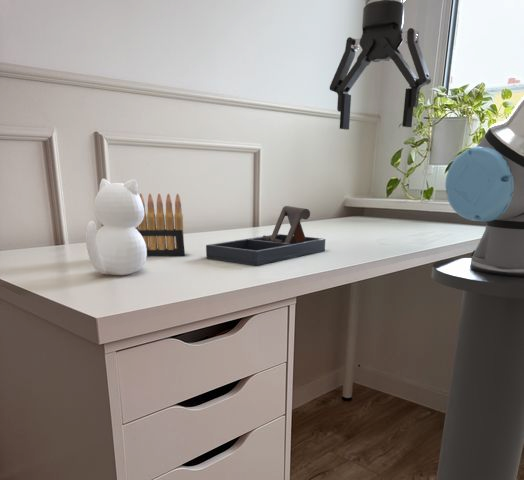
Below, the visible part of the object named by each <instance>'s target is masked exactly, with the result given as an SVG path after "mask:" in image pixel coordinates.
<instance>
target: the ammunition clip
mask: <svg viewBox="0 0 524 480" xmlns="http://www.w3.org/2000/svg"><path fill="white" fill-rule="evenodd" d="M139 196H140V198H141V200H142V203H143V207H144V218H143V221H142V222H141V224H140V225H139V226H138V227H136V228H135V229H137V230H138V232H139V233H140V234H141V235H142V237H143V239H144V241H145V244H146V249H147V257H184V256H186V253H185V252H186V250H185V241H184V240H185V239H184V215H183V212H182V201H181V197H180V194H179V193H176V196H175V200H174V213H173V203H172V198H171V195H170V193H167V194H166V199H165V214H164V203H163V198H162V196H161V194H160V193H158V194H157V197H156V213H155V205H154V199H153V197H152V194H151V193H148V195H147V213H146V205H145V199H144V195H143V194H142V193H139Z"/></svg>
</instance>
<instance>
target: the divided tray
mask: <svg viewBox="0 0 524 480" xmlns="http://www.w3.org/2000/svg"><path fill="white" fill-rule="evenodd" d="M287 235H288V234H284V233H283V234H282V233H278V234H277V237H276V239H279V240H282V241H283V243H278V242H270V241H263V236H264V235H263V236H256V237H249V238H243V239H236V240H230V241H223V242H216V243H210V244H206V245H205V253H206V254H205V255H206V256H205V257H206V259H210V260H215V261H223V262H228V263H235V264H236V263H237V264H242V265H250V266H256V267H257V266H261V265H266V264H271V263H275V262H279V261H284V260H289V259H294V258H298V257H303V256H308V255H312V254H316V253H320V252H325V251H326V238H324V237H323V238H322V237H312V236H305V238H306V242H301V241H300V243H296V241H295V238H294V235H293V237H292V240H291V242H290V244H287V243H284V242H285V240H286V237H287ZM267 236H268V237H271V236H272V234H269V235H267Z"/></svg>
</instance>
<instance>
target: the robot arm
mask: <svg viewBox="0 0 524 480" xmlns="http://www.w3.org/2000/svg"><path fill="white" fill-rule="evenodd" d="M405 1H406V0H363V3H364V4H365V6H364V7H363V9H362V25H361V26H362V27H361V28H362V34H361V37H360V38H354V37H351V36H349V37H347V38H346V41H345V49H344V52H343V55H342V57H341V59H340V61H339V64H338V67H337V68H336V71H335V72H334V76H333V78H332V80H331V82H330V84H329V91H330V92H334V93H335V94H337V106H336V109H337V112H338V113H339V112H340V115H339V130H347V131H349V130H350V121H351V106H352V94H350V93H349V92H350V91H351V89H352V88H353V86H354V85H355V84H356V82H357V80H358V79H359V78H360V76H361V75H362V73H363V72H364V71H365V70H366V68H367V67H368V66H369V65H370V64H371V63H379V62H381V61H383V62H390V60H392V61H393V62H394V65H395V66H396V67H397V69H398V70H399V72H400V73H401V75H402V76H403V78H404V79H405V81H406V82H407V84H408V85H409V86H408V87H409V88H405V93H404V103H403V112H402V114H403V115H402V126H401V127H403V128H412V127H413V126H412V125H413V115H414V109H416V108H418V106H419V102H420V101H419V100H420V92H421V89H422V88H423V87H425V86H428V85H430V84H431V82H432V79H431V76H430V72H429V70H428V67H427V63H426V61H425V59H424V56H423V53H422V49H421V46H420V43H419V41H420V40H419V34H420V33H419V31H418V30H416V29H414V28H413V27H409V28H408V29H407V31H403V25H404V17H405V5H404V4H403V3H404V2H405ZM403 41H404V43H405V44H406V45H407V47H408V50H409V54H410V57H411V59H412V62H413V65H414V68H415V71H416V74H417V76H416V74H415V73H414V71H413V69H412V68H411V66H410V65H409V64H408V62H407V61H406V60H405V58H404V55H403V54H402V53H401V51H400V50H399V48H400V47H401V45H402V43H403ZM360 48H361V51H360V53H359V54H358V56H357V55H356V54H357V52H358V51H359V50H360ZM356 56H357V57H356ZM355 57H356V61H355V62H354V60H355ZM353 62H354V64H353ZM352 64H353V65H352ZM351 66H352V67H351ZM445 191H446V199H447V201H448V204H449V206H450V207H451V208H452V211H454V213H456V214H457V215H459V216H460V217H462V218H463V219H466V220H468V221H474V222H481V223H485V229H484V232H483V234H482V236H481V238H480V240H479V242H478V244H477V246H476V248H475V249H474V250H473V251H472V253H471V254H470V257H471V258H472V259H471V264H470V268H471V269H472V270H475V271H478V272H481V273H486V274H491V275H498V276H506V277H519V278H524V96H523V97H521V100H520V101H519V102H518V103H517V105H516V106H515V108H514V109H513V111H512V112H511V114H509V117H508V118H507V119H505V120H504V121H500V122H497V123H494V124H491V126H490V127H489V128H488V130H487V131H486V132H485V134H484V135H483V137H482V138H481V140H480V141H479V143H478V144H477V145H476V146H473V147H471V148H468V149H467V150H464V151H463V152H462V153H459V155H458V156H457V157H456V158H455V159H454V160H453V161H452V163H451V164H450V166H449V168H448V170H447V173H446V177H445Z"/></svg>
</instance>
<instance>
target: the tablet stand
mask: <svg viewBox="0 0 524 480" xmlns="http://www.w3.org/2000/svg"><path fill="white" fill-rule="evenodd" d="M286 217H287V220H288V223H289V226H290V227H289V230H288V232H287V234H286V235H287V237H286V240H285V242H284V243H287V244H290V242H291V240H292V237H293V236H294V238H295V241H296V243H300V241H301V242H306V238H305V237H306V236H305V232H304V230H303V226H302V223H301V221H302V220H308V219H309V218H310V217H311V211H310V210H309V209H308V208H304V207H297V206H291V205H284V206H283V207H282V209H281V211H280V213H279V215H278V219H277V222H276V224H275V226H274V228H273V231H272V234H271V235H272V236H271V237H268V236H269V235H263V241H270V242H278V243H283V241H282V240H279V239H276V237H277V234H279V232H280V229H281V227H282V224H283V222H284V220H285V218H286Z"/></svg>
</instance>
